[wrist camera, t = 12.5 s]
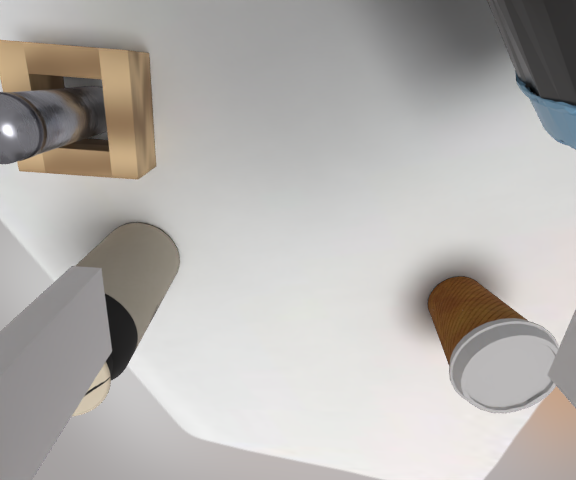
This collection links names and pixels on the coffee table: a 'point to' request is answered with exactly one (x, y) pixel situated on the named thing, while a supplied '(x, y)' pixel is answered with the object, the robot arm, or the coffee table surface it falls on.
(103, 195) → the coffee table surface
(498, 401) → the disposable coffee cup
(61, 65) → the square frame
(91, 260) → the travel mug
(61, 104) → the metal canister
